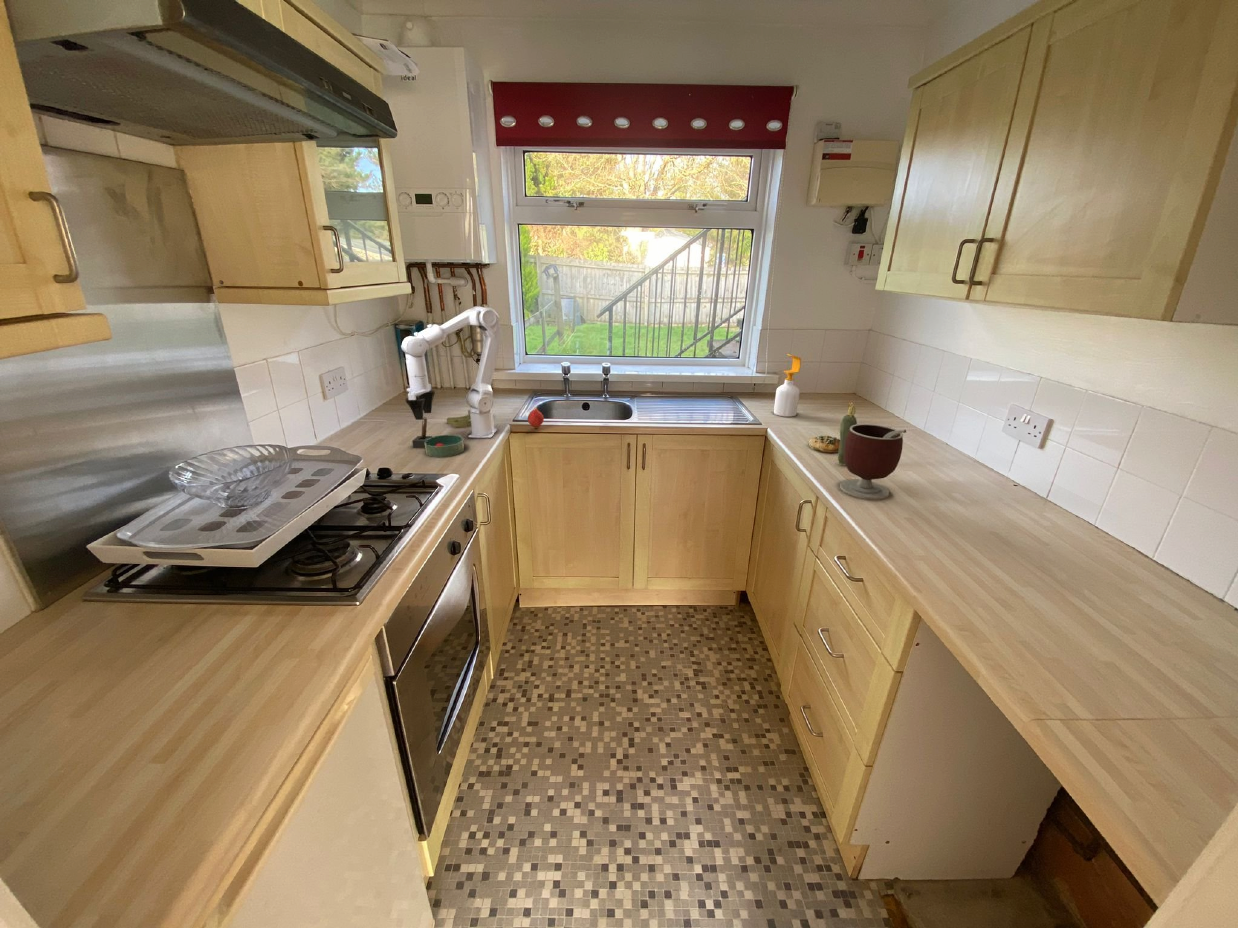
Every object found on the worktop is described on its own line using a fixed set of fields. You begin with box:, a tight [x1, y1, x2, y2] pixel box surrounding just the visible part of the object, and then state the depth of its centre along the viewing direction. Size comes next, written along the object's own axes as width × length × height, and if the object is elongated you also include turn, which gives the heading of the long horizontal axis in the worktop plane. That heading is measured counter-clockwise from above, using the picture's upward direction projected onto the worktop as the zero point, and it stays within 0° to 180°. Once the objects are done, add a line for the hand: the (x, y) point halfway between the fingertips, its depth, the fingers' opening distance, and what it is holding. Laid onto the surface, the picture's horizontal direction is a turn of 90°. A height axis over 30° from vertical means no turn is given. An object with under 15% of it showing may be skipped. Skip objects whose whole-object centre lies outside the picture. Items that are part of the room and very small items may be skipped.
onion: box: [527, 407, 545, 429], centre depth 188 cm, size 6×6×8 cm
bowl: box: [424, 434, 465, 458], centre depth 166 cm, size 12×12×4 cm
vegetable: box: [837, 401, 858, 466], centre depth 154 cm, size 4×4×20 cm
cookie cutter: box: [446, 409, 471, 428], centre depth 198 cm, size 18×12×2 cm, turn 155°
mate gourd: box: [839, 423, 907, 501], centre depth 136 cm, size 16×14×20 cm
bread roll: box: [808, 435, 840, 454], centre depth 172 cm, size 11×11×5 cm
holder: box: [411, 435, 433, 449], centre depth 171 cm, size 5×5×2 cm
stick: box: [420, 416, 428, 439], centre depth 170 cm, size 1×1×10 cm
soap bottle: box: [773, 353, 802, 418], centre depth 207 cm, size 9×9×25 cm
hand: (423, 416), depth 167 cm, fingers open, 7 cm apart
